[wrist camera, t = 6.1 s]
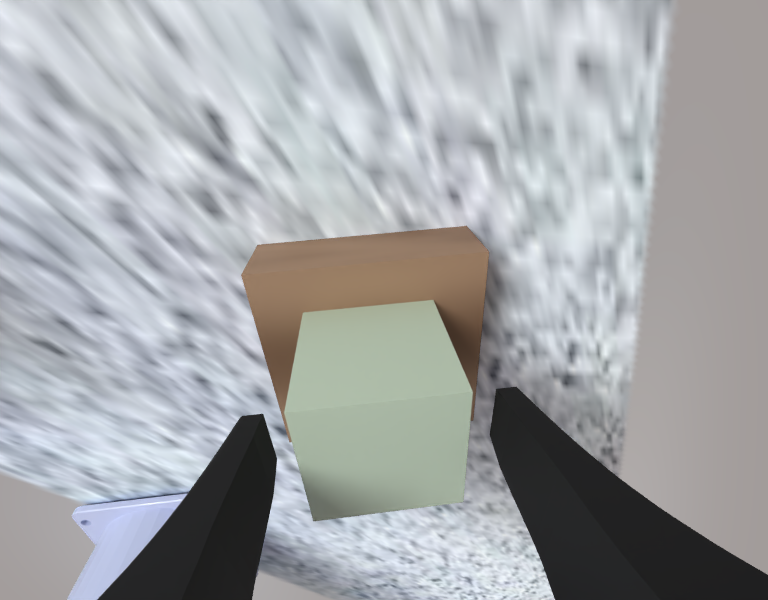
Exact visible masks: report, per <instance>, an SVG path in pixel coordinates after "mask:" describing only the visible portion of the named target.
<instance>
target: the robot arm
mask: <svg viewBox="0 0 768 600" xmlns="http://www.w3.org/2000/svg"><path fill="white" fill-rule="evenodd" d="M490 437H491V440H492V443H493V447H494V450H495V453H496V456H497V459H498V462H499V465H500V468H501V470H502V473H503V475H504V477H505V480H506V482H507V484H508V486H509V489H510V491H511V493H512V495H513V498H514V500H515V502H516V504H517V507H518V509H519V511H520V513H521V515H522V518H523V520H524V522H525V524H526V526H527V529H528V531H529V533H530V535H531V538H532V540H533V542H534V544H535V547H536V549H537V552H538V554H539V556H540V559H541V561H542V564H543V567H544V570H545V572H546V575H547V578H548V581H549V584H550V587H551V589H552V592H553V595H554V598H555V600H768V575H767V574H765V573H763V572H762V571H760V570H758V569H757V568H755V567H753V566H752V565H750V564H748V563H746V562H745V561H743V560H741V559H739V558H738V557H736V556H734V555H733V554H731V553H729V552H728V551H726V550H724V549H723V548H721V547H720V546H717V545H716V544H714V543H713V542H711V541H710V540H708V539H707V538H705V537H704V536H702V535H701V534H699V533H697V532H696V531H694V530H693V529H691V528H690V527H688V526H687V525H685V524H683V523H682V522H680V521H679V520H677V519H676V518H674V517H672V516H671V515H670V514H668V513H667V512H665V511H664V510H662V509H661V508H659V507H658V506H657V505H655V504H654V503H652V502H651V501H649V500H648V499H647V498H645V497H644V496H643V495H641V494H640V493H638V492H637V491H636V490H634V489H633V488H631V487H630V486H629V485H627V484H626V483H625V482H624V481H622V480H621V479H620V478H618V477H617V476H616V475H615V474H613V473H612V472H611V471H610V470H608V469H607V468H606V467H605V466H603V465H602V464H601V463H600V462H598V461H597V460H596V459H595V458H594V457H592V456H591V455H590V454H589V453H588V452H587V451H585V450H584V449H583V448H582V447H581V446H580V445H578V444H577V443H576V442H575V441H574V440H573V439H572V438H571V437H569V436H568V435H567V434H566V433H565V432H564V431H563V430H562V429H560V428H559V427H558V426H557V425H556V424H555V423H554V422H553V421H552V420H551V419H550V418H549V417H548V416H546V415H545V414H544V413H543V412H542V411H541V410H540V409H539V408H538V407H537V406H536V405H535V404H534V403H533V402H532V401H531V400H530V399H529V398H528V397H526V396H525V395H524V394H523V393H522V392H521V391H520V390H519V389H518V388H517V387H510V388H501V389H496V396H495V403H494V409H493V416H492V423H491V430H490ZM276 464H277V457H276V454H275V451H274V448H273V444H272V441H271V438H270V435H269V431H268V428H267V425H266V422H265V418H264V415H263V414H257V415H247V416H242V417H241V418H240V419H239V420H238V422H237V423H236V425H235V426H234V428H233V429H232V431H231V432H230V434H229V435H228V437H227V438H226V440H225V441H224V443H223V444H222V446H221V447H220V449H219V450H218V452H217V453H216V455H215V456H214V458H213V459H212V461H211V462H210V463H209V465H208V466H207V468H206V469H205V470H204V472H203V473H202V475H201V476H200V477H199V479H198V480H197V482H196V483H195V484H194V486H193V487H192V488H191V490H190V491H189V493H187V494H178V495H170V496H161V497H153V498H144V499H136V500H127V501H119V502H110V503H102V504H93V505H85V506H79V507H77V508H76V509H75V511H74V512H73V514H72V518H73V519H74V521H75V522H76V523H77V524H78V525H79V526H80V527H81V529H82V530H83V531H84V532H85V533H86V534H87V535H88V537H89V538H90V539H91V540H92V541H93V542H94V544H95V545H96V547H95V548H94V550H93V552H92V554H91V556H90V557H89V559H88V562H87V563H86V565H85V567H84V569H83V570H82V572H81V574H80V576H79V578H78V580H77V581H76V583H75V585H74V587H73V589H72V591H71V592H70V594H69V596H68V598H67V600H252V596H253V590H254V584H255V579H256V576H257V575H258V565H259V561H260V556H261V551H262V547H263V542H264V537H265V533H266V528H267V523H268V519H269V514H270V509H271V504H272V499H273V494H274V485H275V475H276Z"/></svg>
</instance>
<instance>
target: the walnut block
mask: <svg viewBox="0 0 768 600" xmlns="http://www.w3.org/2000/svg"><path fill="white" fill-rule="evenodd" d="M488 258H489V251H488V250H487V249H486V248H485V247H484V245H483V244H482V243H481V242H480V241H479V240H478V239H477V237H476V236H475V235H474V234H473V233H472V232H471V231H470V229H469V228H468V227H467V226H461V227H450V228H439V229H428V230H417V231H406V232H395V233H384V234H373V235H362V236H351V237H340V238H329V239H318V240H307V241H296V242H285V243H274V244H262V245H257V247H256V249H255V251H254V253H253V255H252V256H251V258H250V260H249V262H248V264H247V266H246V267H245V269H244V271H243V273H242V275H241V276H242V279H243V283H244V286H245V290H246V293H247V297H248V300H249V304H250V307H251V310H252V314H253V317H254V321H255V324H256V328H257V331H258V335H259V338H260V341H261V345H262V348H263V352H264V355H265V359H266V362H267V366H268V369H269V373H270V376H271V379H272V383H273V386H274V390H275V393H276V397H277V400H278V404H279V407H280V410H281V414H282V417H283V421H284V424H285V428H286V431H287V435H288V438H289V442H292V440H291V437H290V433H289V429H288V425H287V422H286V418H285V414H284V411H285V406H286V400H287V395H288V390H289V384H290V379H291V374H292V368H293V363H294V358H295V352H296V347H297V342H298V336H299V331H300V325H301V320H302V315H303V313H304V312H314V311H324V310H335V309H345V308H355V307H365V306H376V305H386V304H396V303H406V302H417V301H427V300H434V303H435V305H436V307H437V310H438V312H439V314H440V317H441V319H442V321H443V324H444V326H445V328H446V331H447V333H448V335H449V338H450V340H451V342H452V345H453V347H454V349H455V352H456V354H457V356H458V358H459V361H460V363H461V365H462V368H463V370H464V372H465V375H466V377H467V379H468V382H469V384H470V386H471V389H472V391H473V396H472V408H471V419H470V421H473V417H474V406H475V396H476V385H477V375H478V364H479V353H480V343H481V332H482V322H483V311H484V301H485V290H486V279H487V269H488Z"/></svg>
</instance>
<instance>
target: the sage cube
mask: <svg viewBox="0 0 768 600" xmlns="http://www.w3.org/2000/svg"><path fill="white" fill-rule="evenodd" d="M472 396H473V391H472V389H471V386H470V384H469V382H468V379H467V377H466V375H465V372H464V370H463V368H462V365H461V363H460V361H459V358H458V356H457V354H456V352H455V349H454V347H453V345H452V342H451V340H450V338H449V335H448V333H447V331H446V328H445V326H444V324H443V321H442V319H441V317H440V314H439V312H438V310H437V307H436V305H435V303H434V300H427V301H417V302H406V303H396V304H386V305H376V306H365V307H355V308H345V309H335V310H324V311H314V312H304V313H303V315H302V320H301V325H300V331H299V336H298V342H297V347H296V352H295V358H294V363H293V368H292V374H291V379H290V384H289V390H288V395H287V400H286V406H285V411H284V414H285V418H286V422H287V425H288V429H289V433H290V437H291V440H292V444H293V448H294V451H295V455H296V459H297V462H298V466H299V470H300V473H301V477H302V481H303V484H304V488H305V492H306V495H307V499H308V503H309V506H310V510H311V514H312V518H313V521H320V520H328V519H336V518H344V517H351V516H359V515H367V514H375V513H383V512H390V511H398V510H406V509H414V508H421V507H429V506H437V505H445V504H452V503H460V502H463V499H464V488H465V476H466V465H467V453H468V442H469V431H470V419H471V408H472Z"/></svg>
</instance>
